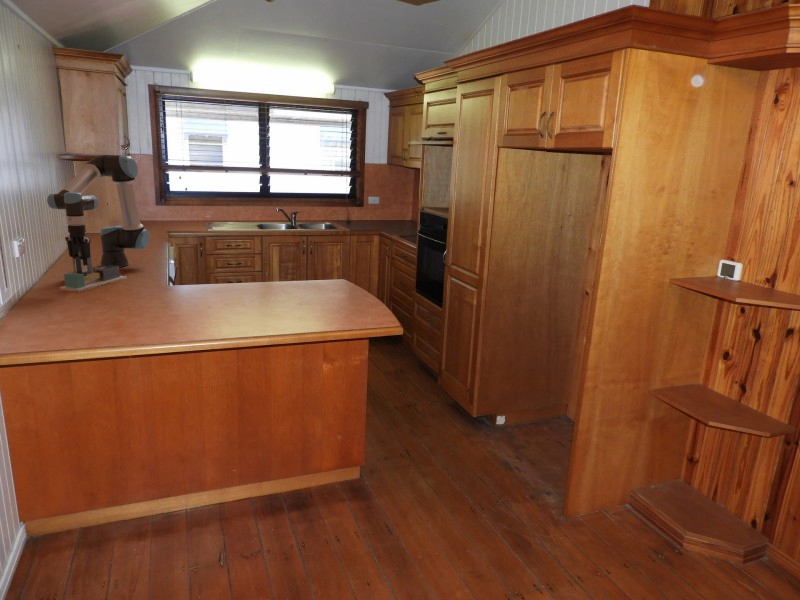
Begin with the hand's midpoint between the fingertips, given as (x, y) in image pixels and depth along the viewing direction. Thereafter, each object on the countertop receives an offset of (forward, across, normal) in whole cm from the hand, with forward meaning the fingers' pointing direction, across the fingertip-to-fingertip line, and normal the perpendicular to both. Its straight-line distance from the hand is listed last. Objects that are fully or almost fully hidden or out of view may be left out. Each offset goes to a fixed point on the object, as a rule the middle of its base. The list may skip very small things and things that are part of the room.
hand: (81, 271), depth 281 cm
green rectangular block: (+7, 0, -5) cm, 8 cm away
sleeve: (+7, 0, +16) cm, 17 cm away
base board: (+8, 0, +8) cm, 11 cm away
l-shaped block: (+5, 0, +3) cm, 6 cm away
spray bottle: (+8, -16, +16) cm, 24 cm away
